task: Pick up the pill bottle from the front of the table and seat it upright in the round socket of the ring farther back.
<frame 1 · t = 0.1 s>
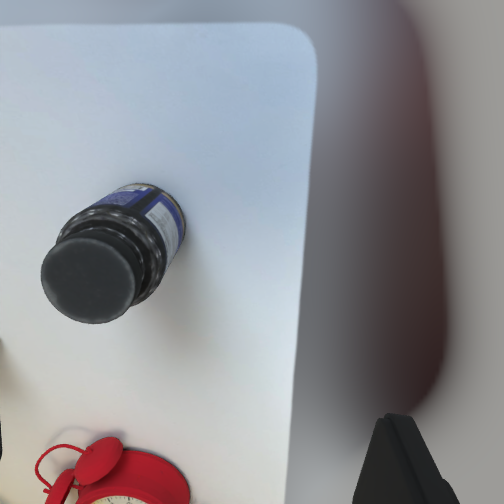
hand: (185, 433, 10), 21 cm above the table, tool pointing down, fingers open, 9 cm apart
pill bottle: (146, 222, 31), on the table
alarm clock: (122, 479, 39), on the table
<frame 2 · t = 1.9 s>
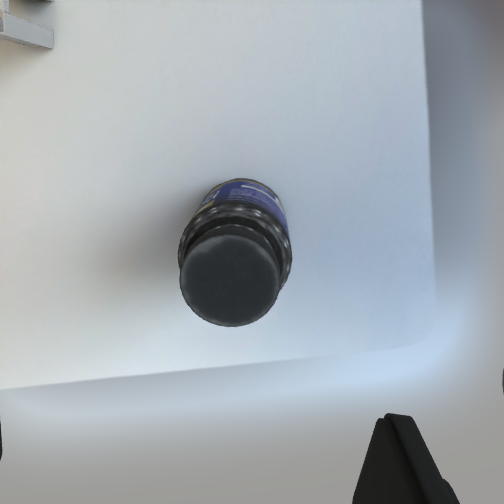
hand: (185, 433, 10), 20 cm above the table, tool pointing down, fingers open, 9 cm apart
pill bottle: (243, 220, 30), on the table
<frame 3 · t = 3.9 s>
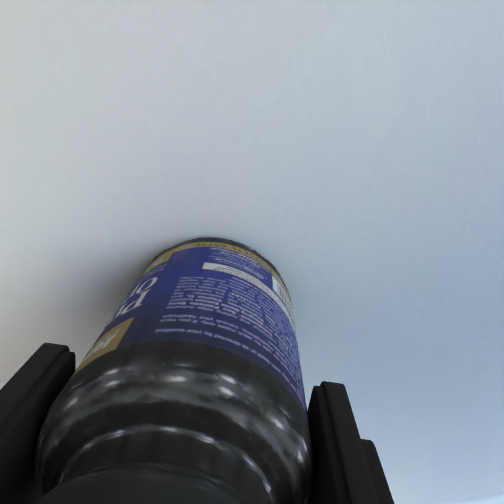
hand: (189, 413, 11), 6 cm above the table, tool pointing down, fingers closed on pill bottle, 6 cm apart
pill bottle: (215, 305, 17), on the table, touching gripper
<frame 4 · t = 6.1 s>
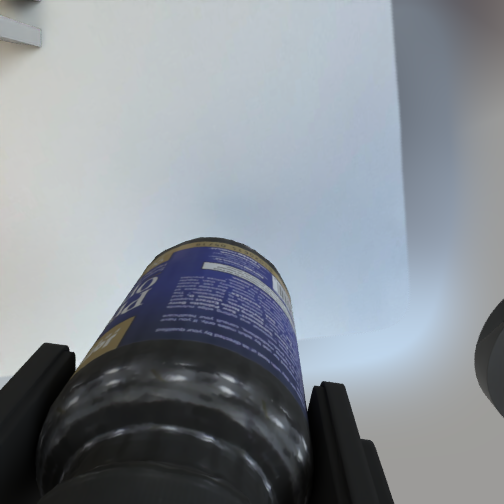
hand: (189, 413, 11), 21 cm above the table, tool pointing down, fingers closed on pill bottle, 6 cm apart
pill bottle: (215, 305, 17), point 15 cm above the table, touching gripper
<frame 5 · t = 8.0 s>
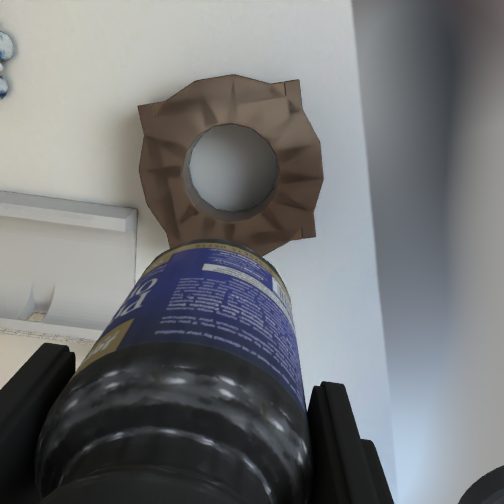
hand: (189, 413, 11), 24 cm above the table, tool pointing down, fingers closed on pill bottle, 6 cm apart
ring: (233, 168, 32), on the table
pill bottle: (215, 306, 17), point 18 cm above the table, touching gripper
skate ramp: (48, 271, 36), on the table
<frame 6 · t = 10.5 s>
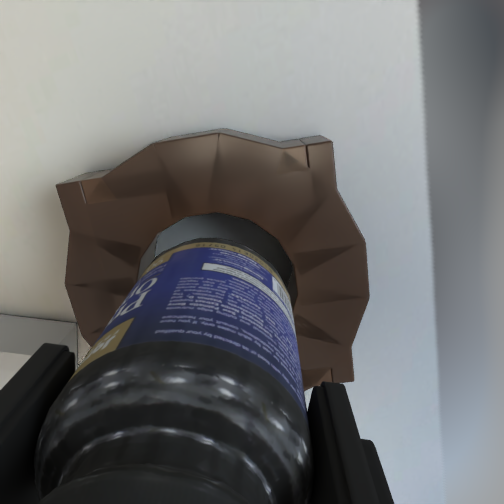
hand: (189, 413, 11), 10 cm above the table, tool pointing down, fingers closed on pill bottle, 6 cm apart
ring: (222, 265, 21), on the table
pill bottle: (215, 305, 17), point 4 cm above the table, touching gripper
when the fingers open (6 cm above the table, at t = 12.3 s): pill bottle stays where it is, resting in ring.
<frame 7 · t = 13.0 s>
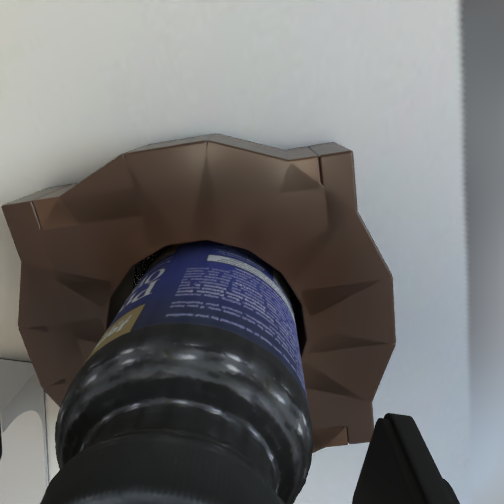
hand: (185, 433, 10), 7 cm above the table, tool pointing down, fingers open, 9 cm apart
ring: (215, 297, 17), on the table
pill bottle: (217, 297, 17), resting in ring
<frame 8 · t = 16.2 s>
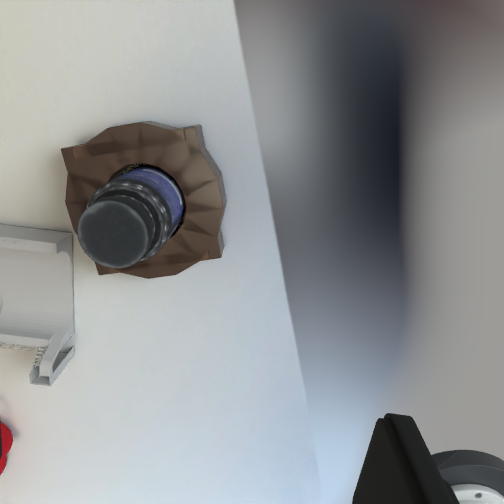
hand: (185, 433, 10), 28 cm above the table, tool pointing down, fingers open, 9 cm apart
ring: (153, 198, 37), on the table
pill bottle: (154, 198, 37), resting in ring
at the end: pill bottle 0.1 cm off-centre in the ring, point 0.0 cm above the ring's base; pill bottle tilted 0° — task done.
